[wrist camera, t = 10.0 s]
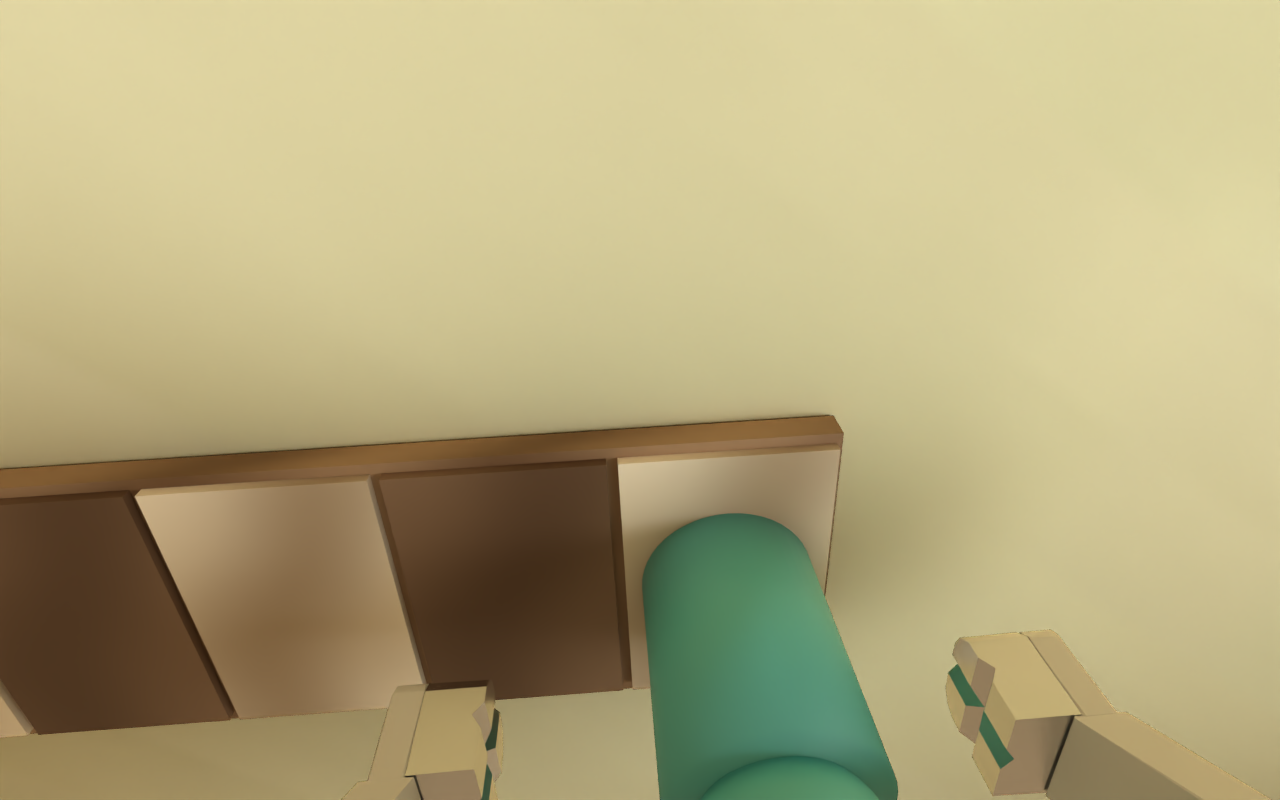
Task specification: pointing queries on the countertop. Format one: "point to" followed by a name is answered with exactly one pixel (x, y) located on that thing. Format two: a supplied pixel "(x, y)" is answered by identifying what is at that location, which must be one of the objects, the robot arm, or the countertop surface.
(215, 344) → the countertop surface
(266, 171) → the countertop surface
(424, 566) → the board
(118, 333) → the countertop surface
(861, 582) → the countertop surface
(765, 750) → the pawn
